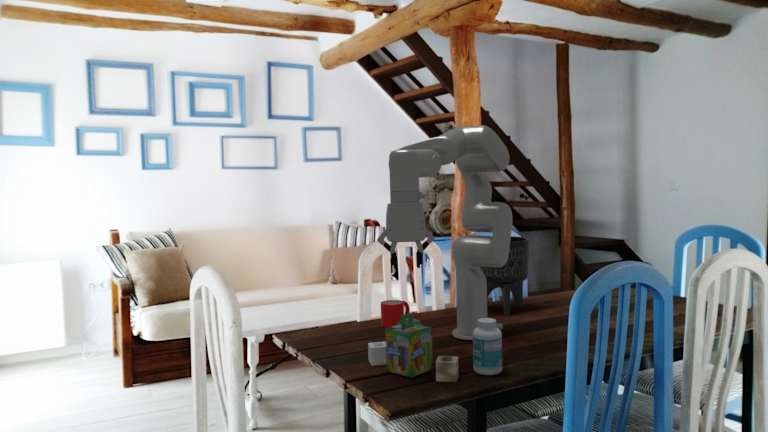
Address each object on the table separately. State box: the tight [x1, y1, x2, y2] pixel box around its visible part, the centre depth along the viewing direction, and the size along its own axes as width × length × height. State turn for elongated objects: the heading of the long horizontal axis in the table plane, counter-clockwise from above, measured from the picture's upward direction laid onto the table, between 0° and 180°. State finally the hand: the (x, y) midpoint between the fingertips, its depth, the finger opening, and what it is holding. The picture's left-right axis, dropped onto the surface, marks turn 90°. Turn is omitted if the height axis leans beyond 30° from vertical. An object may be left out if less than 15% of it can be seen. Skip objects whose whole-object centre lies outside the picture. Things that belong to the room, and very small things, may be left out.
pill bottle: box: [472, 317, 503, 376], centre depth 154 cm, size 8×7×14 cm
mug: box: [380, 299, 411, 329], centre depth 206 cm, size 8×12×8 cm, turn 135°
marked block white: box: [367, 341, 387, 367], centre depth 165 cm, size 5×5×5 cm
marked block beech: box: [435, 355, 460, 383], centre depth 150 cm, size 5×5×5 cm
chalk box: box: [384, 312, 434, 379], centre depth 157 cm, size 9×9×15 cm
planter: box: [480, 235, 530, 316], centre depth 220 cm, size 20×20×26 cm
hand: (406, 266), depth 155 cm, fingers open, 5 cm apart
